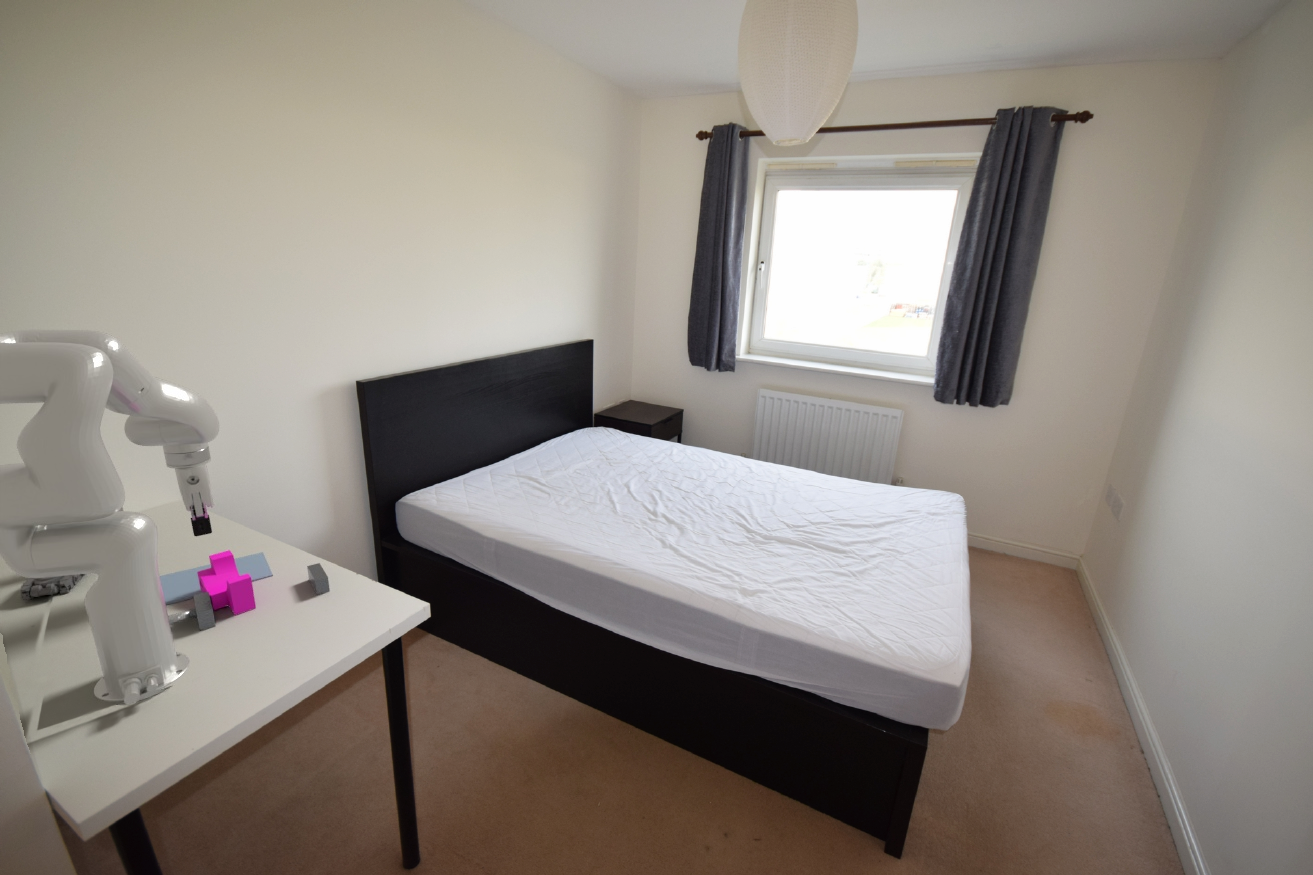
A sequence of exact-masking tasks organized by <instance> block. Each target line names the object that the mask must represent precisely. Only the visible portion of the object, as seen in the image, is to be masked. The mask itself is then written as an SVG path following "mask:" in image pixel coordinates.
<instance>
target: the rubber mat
mask: <svg viewBox="0 0 1313 875" xmlns="http://www.w3.org/2000/svg"><path fill="white" fill-rule="evenodd" d="M234 560H235V564H236V567H237V570H238V573H239V575H240V576H241V575H244V574H247V573H248V574H249V575H250V576H251V580H252V583H253V582H256V581H261V580H264V579H267V578H270V577H273V576H274V574H273V572H272V570H271V567H270V564H269V562H268V561H267V558H266V556H265V554H264V552H263V551H262V552H258V553H253V554H249V555H244V556H239V557H235V558H234ZM208 568H211V564H207V565H201V566H198V567H193V568H189V569H183V570H181V571H176V572H172V573H168V574H162V575H160V581H161V586H162V591H163V595H164V599H165V604H166V606H167V605H171V604H174V603H178V602H183V601H187V600H190V599H194V596H193V595H197V594H201V593H202V591H201V589H200V584H199V579H198V574H197V572H198V571H201V570H205V569H208Z"/></svg>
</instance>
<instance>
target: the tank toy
mask: <svg viewBox="0 0 1313 875" xmlns="http://www.w3.org/2000/svg"><path fill="white" fill-rule="evenodd" d="M86 575H87V574H76V575H66V576H57V577H47V578H27V580H25V581H24V582H23V583H22V584H21V586H20V588H21V590H20V596H21V597H20V599H21V600H22V601H29V600H33V599H34V598H39V597H42V596H47V595H49V596H51V595H55V594H58V593H60V594H61V595H62V594H63V595H64V594H70V592H71V591H70V590H72V589H73V588H74V587H75V586H77V583H79V582H80V581H81V579H82V578H83V577H84V576H86Z"/></svg>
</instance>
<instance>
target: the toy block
mask: <svg viewBox="0 0 1313 875" xmlns="http://www.w3.org/2000/svg"><path fill="white" fill-rule="evenodd" d="M208 557H209V562H210V564H211V568H208V569H205V570H201V571H198V572H197V574H198V579H199V584H200V589H201V591H202V593H204V592H208V591H209V596H210V600H211V604H212V609H213V611H217V610H218V609H222V608H225V607H228V608H229V609H230V610H231V611H232V613H233V615H234V616H237V615H240V614H242V613H243V614H244V613H246V612H249V611H251V610H255V609H257V607H256V601H255V595H254V594H255V593H254V586H253V582H252V580H251V576H250V575H249V574H248V573H247V574H244V575H241V576H240V575H239V573H238V570H237V567H236V564H235V560H234V559H235V557H234V554H233V552H232V551H231V550H230V549H229V550H224V551H222V552H218V553H214V554H210V555H208ZM210 564H209V565H210Z"/></svg>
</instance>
